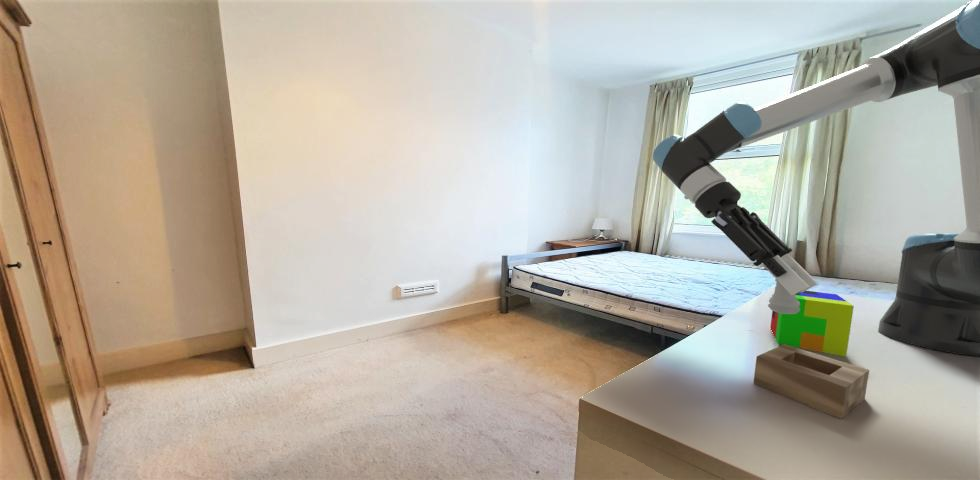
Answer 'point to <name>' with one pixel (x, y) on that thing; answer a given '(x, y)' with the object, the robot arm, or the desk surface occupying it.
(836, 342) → the puzzle toy
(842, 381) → the socket block
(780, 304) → the rook chess piece
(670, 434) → the desk surface
